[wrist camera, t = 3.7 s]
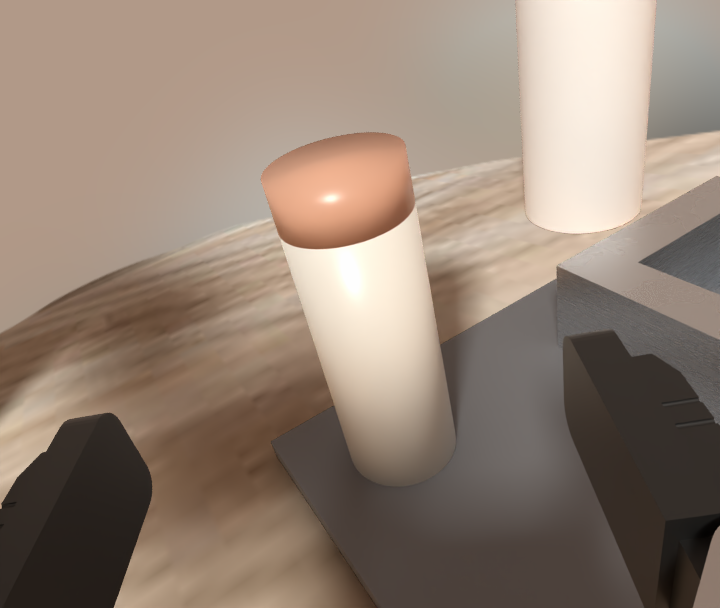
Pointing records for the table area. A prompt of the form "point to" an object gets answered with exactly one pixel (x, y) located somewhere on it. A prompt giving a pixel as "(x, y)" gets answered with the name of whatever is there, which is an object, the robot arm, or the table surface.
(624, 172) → the cup
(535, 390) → the mat
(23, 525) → the robot arm
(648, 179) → the table surface
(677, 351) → the socket
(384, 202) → the peg
